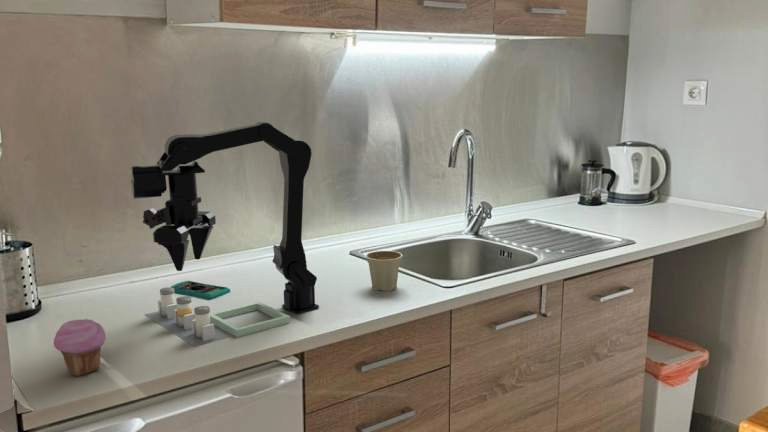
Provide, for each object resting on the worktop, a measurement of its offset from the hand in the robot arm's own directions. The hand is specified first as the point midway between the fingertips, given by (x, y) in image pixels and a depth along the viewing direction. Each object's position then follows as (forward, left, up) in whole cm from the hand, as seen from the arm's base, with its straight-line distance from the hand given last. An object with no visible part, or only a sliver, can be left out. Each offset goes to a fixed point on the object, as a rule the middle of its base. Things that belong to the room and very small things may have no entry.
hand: (188, 264), depth 158 cm
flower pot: (-49, +8, -14) cm, 51 cm away
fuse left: (+3, -5, -12) cm, 14 cm away
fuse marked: (+3, +3, -12) cm, 13 cm away
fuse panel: (+3, +3, -14) cm, 14 cm away
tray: (-8, +10, -14) cm, 19 cm away
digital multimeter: (-10, -17, -14) cm, 24 cm away
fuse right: (+3, +12, -12) cm, 17 cm away
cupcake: (+27, +10, -14) cm, 32 cm away
